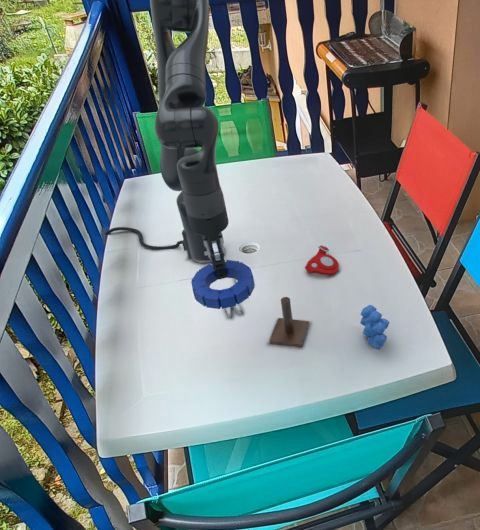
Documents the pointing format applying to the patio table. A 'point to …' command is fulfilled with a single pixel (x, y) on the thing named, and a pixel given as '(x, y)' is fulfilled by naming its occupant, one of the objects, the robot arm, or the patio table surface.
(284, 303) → the post
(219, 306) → the ring
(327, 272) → the tracker holder
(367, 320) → the grapes
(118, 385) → the patio table surface
